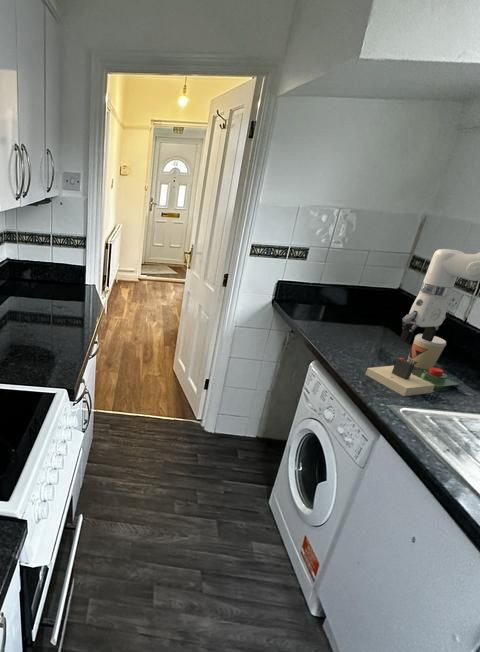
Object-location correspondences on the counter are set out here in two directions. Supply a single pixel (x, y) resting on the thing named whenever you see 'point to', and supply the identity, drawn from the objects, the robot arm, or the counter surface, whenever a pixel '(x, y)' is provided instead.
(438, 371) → the stop button
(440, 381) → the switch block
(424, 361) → the coffee cup
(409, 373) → the dark brown upright block
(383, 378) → the tan rectangular slab
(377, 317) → the counter surface
